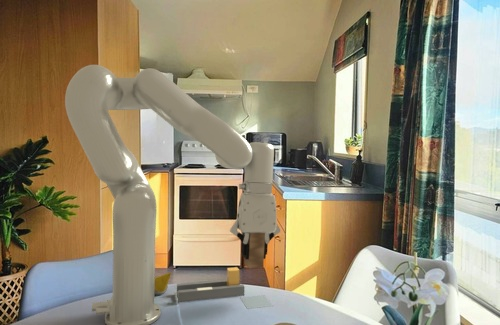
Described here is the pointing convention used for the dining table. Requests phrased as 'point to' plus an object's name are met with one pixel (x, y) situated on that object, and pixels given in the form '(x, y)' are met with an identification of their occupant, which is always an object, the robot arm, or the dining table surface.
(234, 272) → the switch tab
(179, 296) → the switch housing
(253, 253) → the wooden block
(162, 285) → the yellow-filled grey round bowl
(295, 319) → the dining table surface
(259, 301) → the mat
